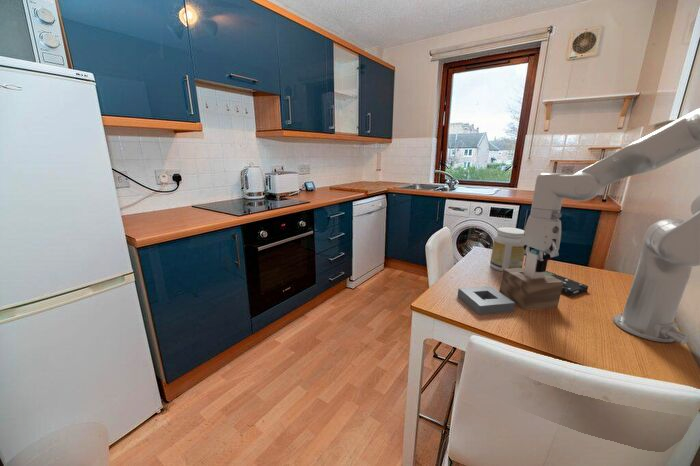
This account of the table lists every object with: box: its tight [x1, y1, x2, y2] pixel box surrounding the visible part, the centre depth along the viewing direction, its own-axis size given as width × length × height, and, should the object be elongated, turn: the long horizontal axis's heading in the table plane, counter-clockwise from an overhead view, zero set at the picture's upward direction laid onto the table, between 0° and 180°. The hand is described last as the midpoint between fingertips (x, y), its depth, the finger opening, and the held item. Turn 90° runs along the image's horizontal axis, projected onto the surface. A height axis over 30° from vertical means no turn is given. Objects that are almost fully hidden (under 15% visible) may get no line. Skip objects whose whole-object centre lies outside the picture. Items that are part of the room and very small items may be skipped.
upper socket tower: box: [498, 267, 563, 311], centre depth 95 cm, size 12×12×9 cm
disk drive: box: [545, 270, 589, 298], centre depth 107 cm, size 10×3×15 cm
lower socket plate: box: [457, 285, 516, 316], centre depth 93 cm, size 12×12×3 cm
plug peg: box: [523, 248, 546, 279], centre depth 93 cm, size 4×4×11 cm
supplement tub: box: [489, 226, 526, 272], centre depth 121 cm, size 12×12×17 cm
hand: (534, 268), depth 93 cm, fingers closed on plug peg, 4 cm apart
